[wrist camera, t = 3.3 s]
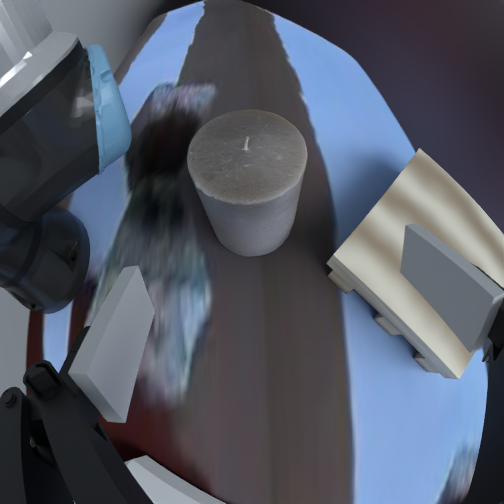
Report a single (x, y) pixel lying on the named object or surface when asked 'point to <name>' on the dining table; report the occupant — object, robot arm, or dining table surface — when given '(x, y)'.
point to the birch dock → (390, 255)
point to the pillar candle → (248, 178)
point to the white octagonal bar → (166, 484)
